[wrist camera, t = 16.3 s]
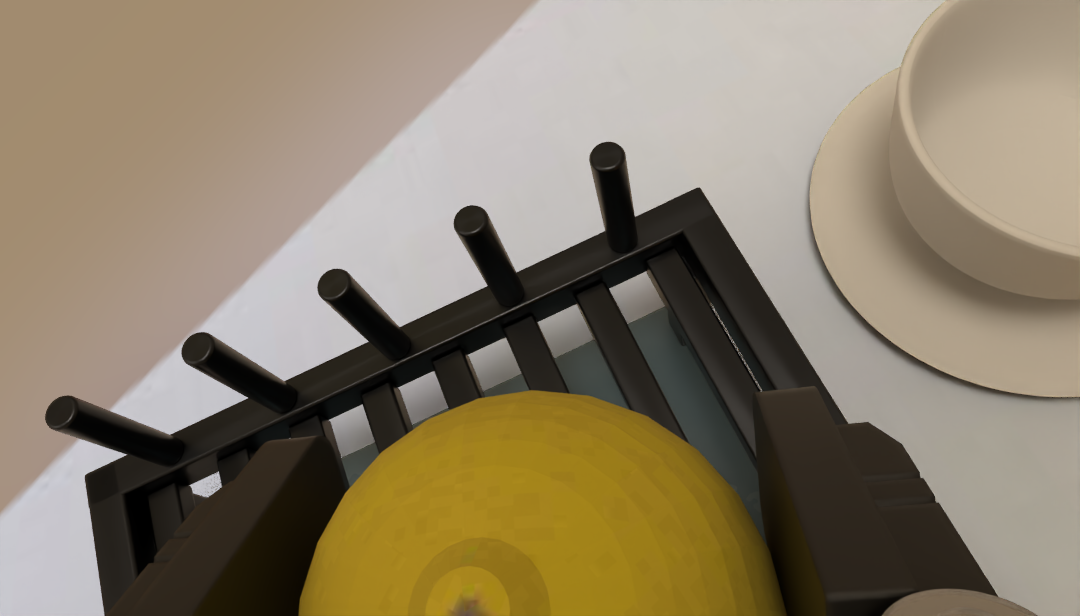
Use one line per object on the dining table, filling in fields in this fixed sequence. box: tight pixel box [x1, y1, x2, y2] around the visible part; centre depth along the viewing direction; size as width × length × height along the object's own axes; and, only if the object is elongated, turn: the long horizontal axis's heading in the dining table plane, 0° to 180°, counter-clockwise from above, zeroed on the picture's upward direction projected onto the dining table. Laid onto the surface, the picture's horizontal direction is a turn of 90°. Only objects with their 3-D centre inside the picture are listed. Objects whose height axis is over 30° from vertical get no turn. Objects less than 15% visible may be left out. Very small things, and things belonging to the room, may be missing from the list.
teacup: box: [810, 0, 1080, 397], centre depth 18 cm, size 10×10×5 cm
